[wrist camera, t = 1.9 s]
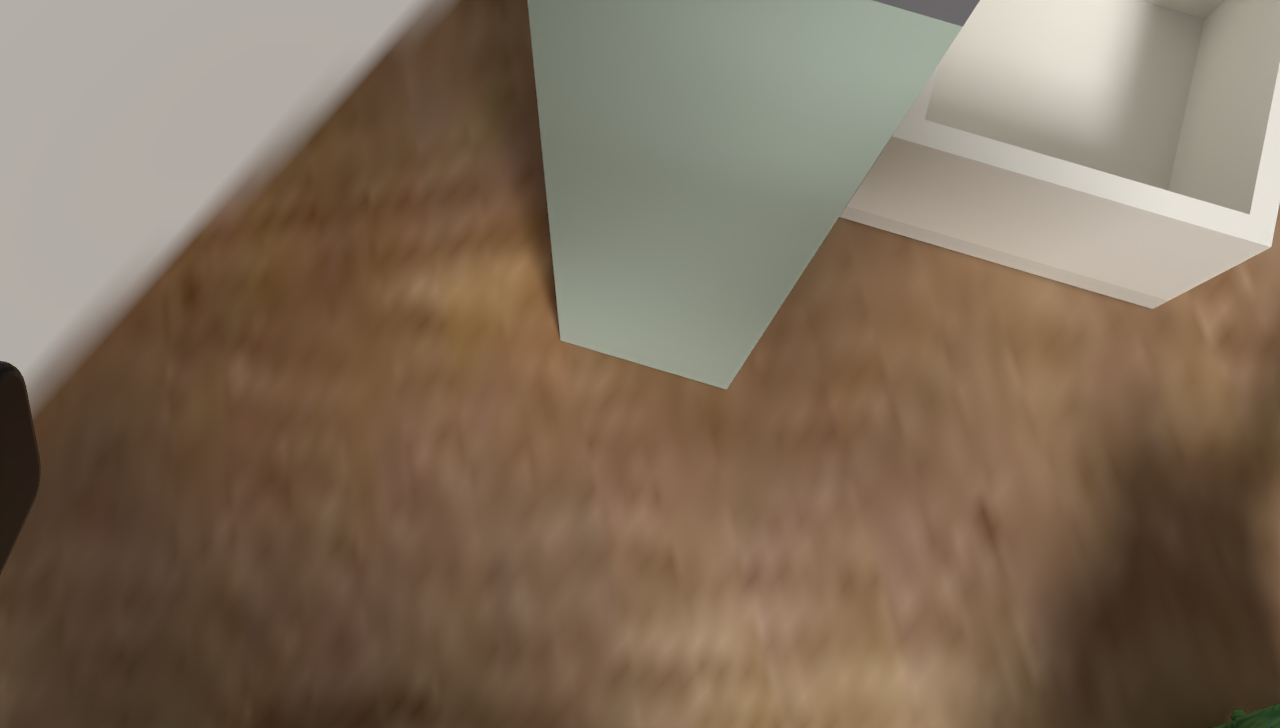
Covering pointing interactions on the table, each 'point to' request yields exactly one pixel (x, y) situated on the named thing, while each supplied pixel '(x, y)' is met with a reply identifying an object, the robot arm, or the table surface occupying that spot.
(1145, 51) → the ceramic well
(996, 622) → the table surface
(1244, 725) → the figurine
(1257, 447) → the table surface
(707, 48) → the sage bracket post
